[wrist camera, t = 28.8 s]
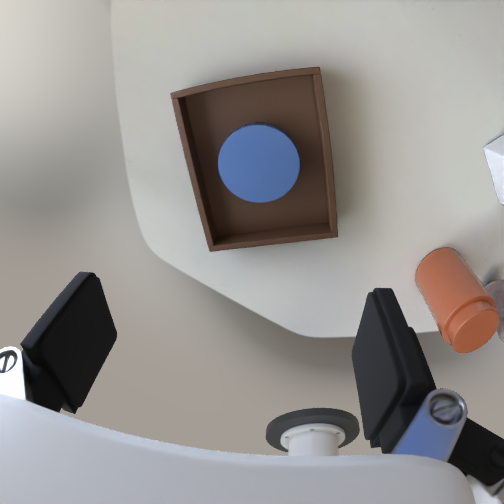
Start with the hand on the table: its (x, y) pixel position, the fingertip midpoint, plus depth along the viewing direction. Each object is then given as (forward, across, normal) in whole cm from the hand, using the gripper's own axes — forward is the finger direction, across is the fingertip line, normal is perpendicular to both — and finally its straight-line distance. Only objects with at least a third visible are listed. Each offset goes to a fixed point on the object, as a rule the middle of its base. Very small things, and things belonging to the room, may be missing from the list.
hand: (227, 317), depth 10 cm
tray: (+21, 0, -1) cm, 21 cm away
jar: (+21, -21, +11) cm, 32 cm away
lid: (+18, 0, -1) cm, 18 cm away
